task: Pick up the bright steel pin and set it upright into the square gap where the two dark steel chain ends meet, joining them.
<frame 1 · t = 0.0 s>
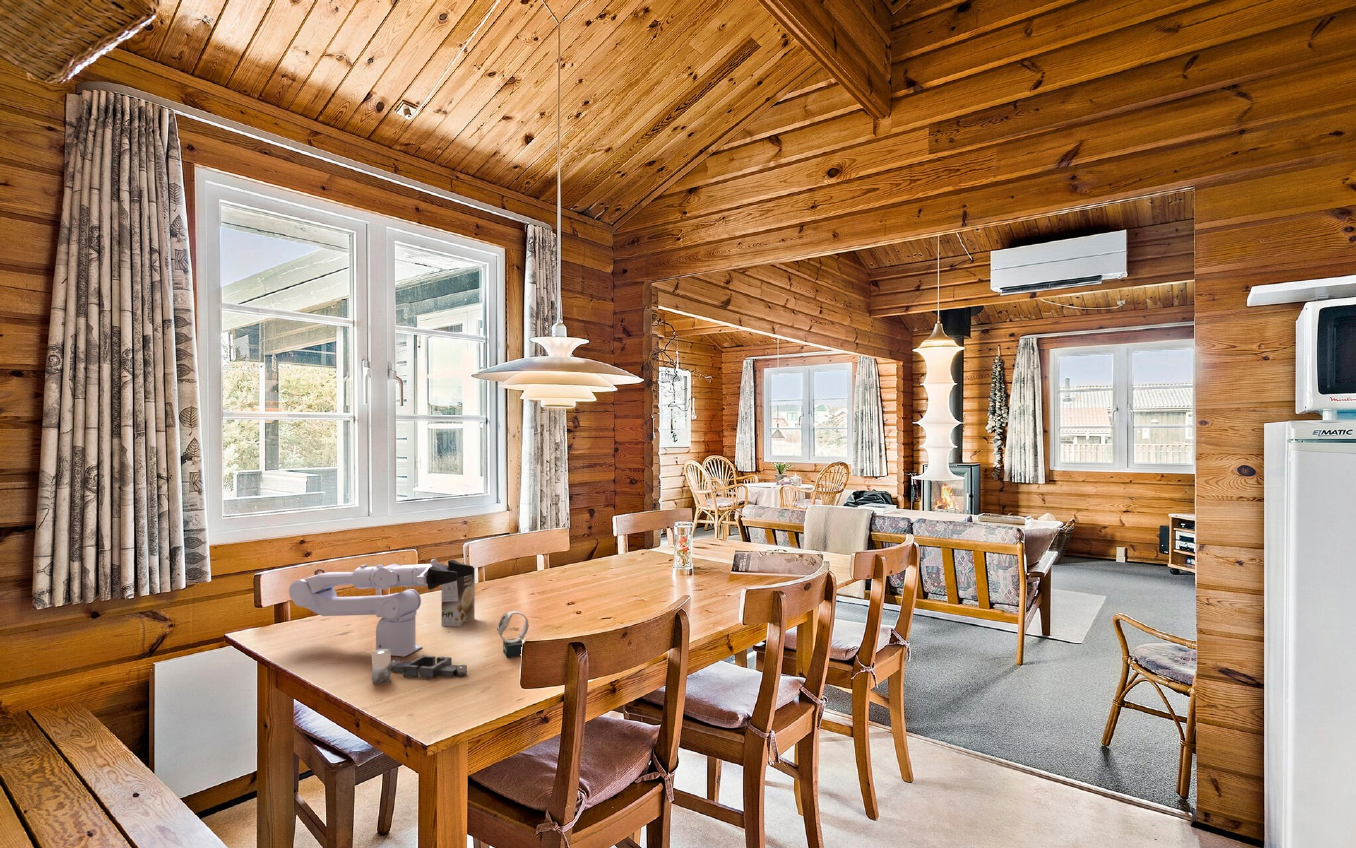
hand: (465, 573, 179), 22 cm above the table, tool horizontal, fingers open, 7 cm apart
chain end right: (427, 672, 168), on the table
watch: (513, 654, 182), on the table
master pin: (381, 681, 162), on the table
chain end left: (427, 672, 168), on the table
coffee box: (458, 623, 211), on the table
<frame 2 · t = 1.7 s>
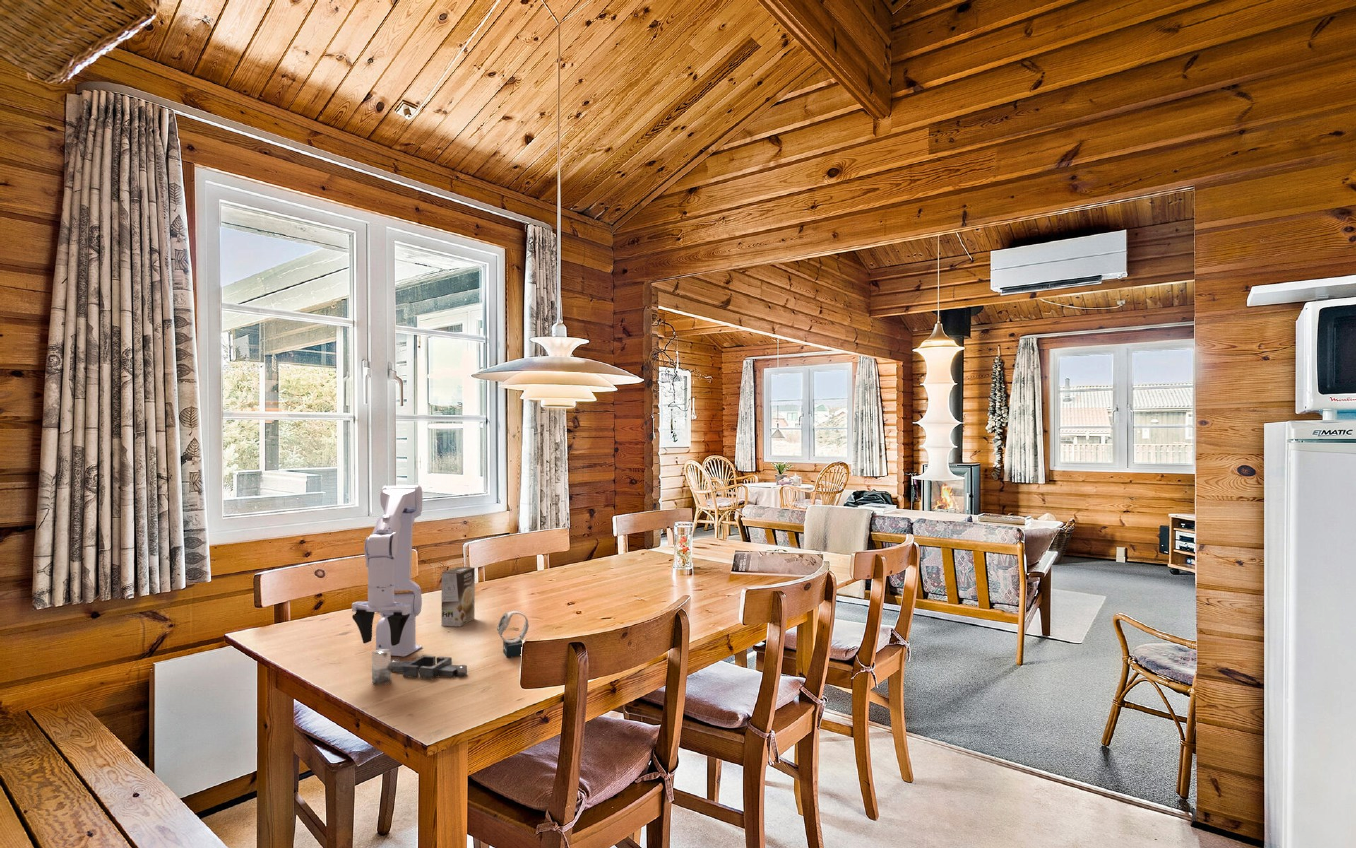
hand: (381, 643, 162), 9 cm above the table, tool pointing down, fingers open, 7 cm apart
nothing on the table moved.
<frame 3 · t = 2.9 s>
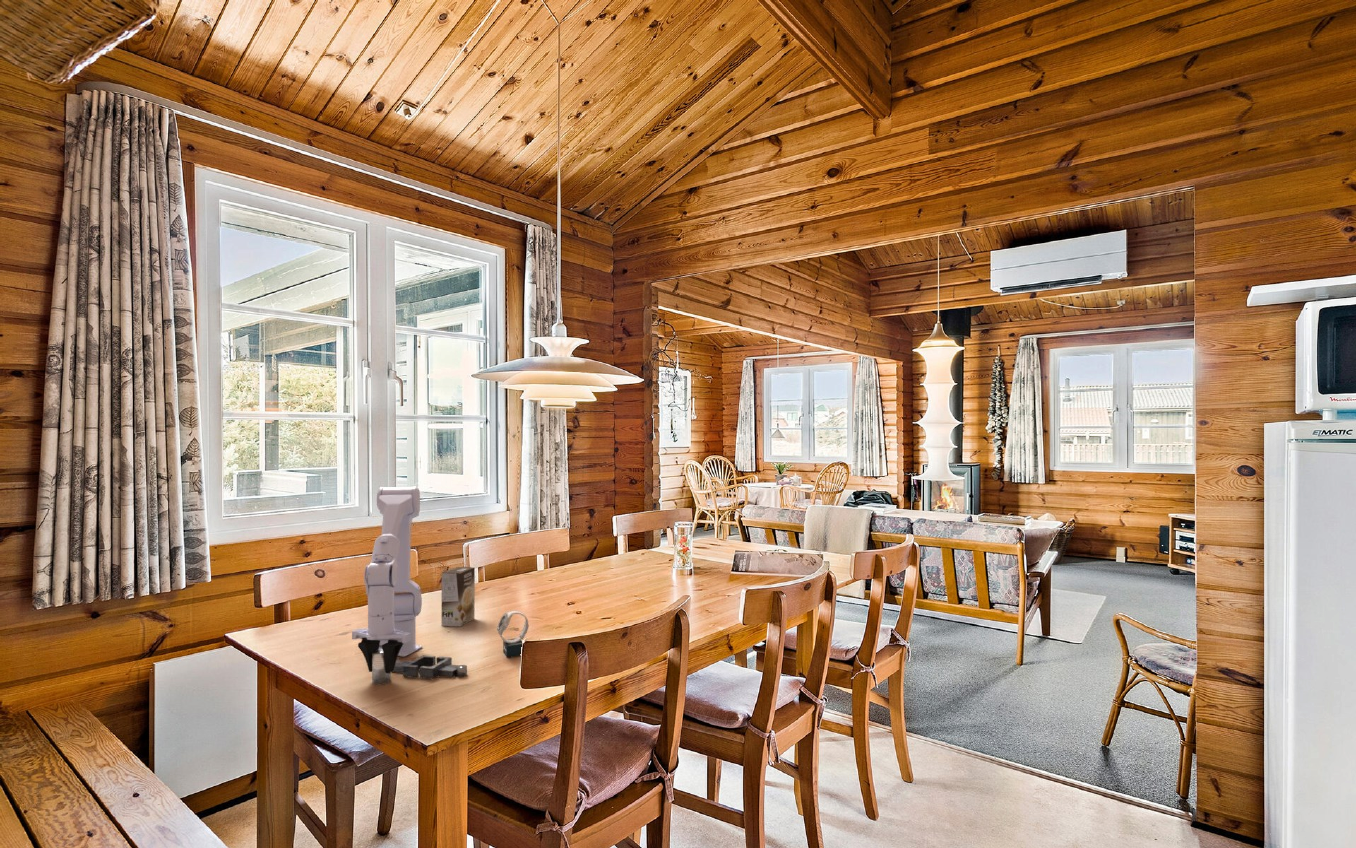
hand: (381, 671, 162), 2 cm above the table, tool pointing down, fingers closed on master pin, 4 cm apart
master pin: (381, 681, 162), on the table, touching gripper
everything else where it was.
when the fingers open (3 cm above the table, at t = 6.4 s): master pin stays where it is, on the table.
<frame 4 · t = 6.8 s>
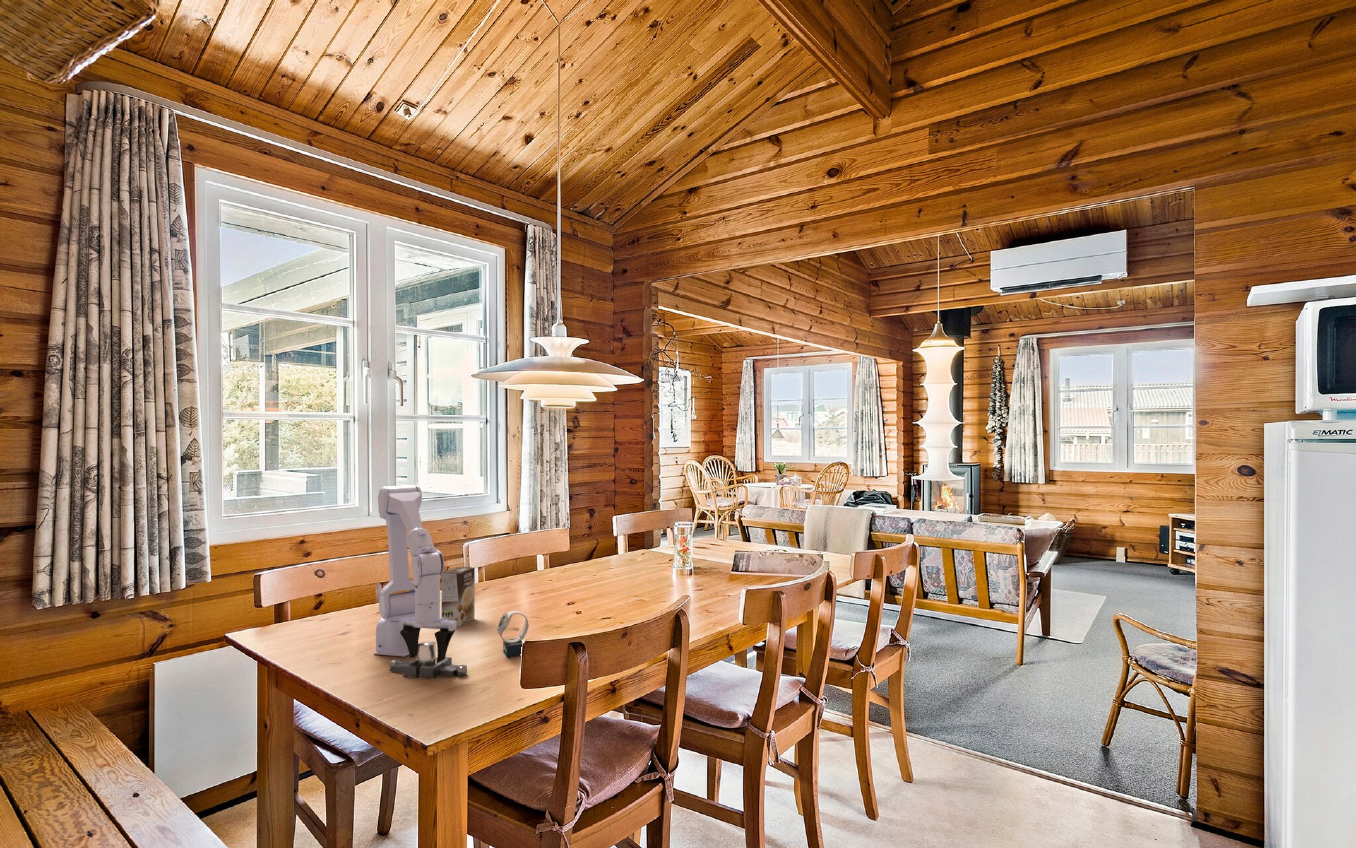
hand: (427, 658, 168), 3 cm above the table, tool pointing down, fingers open, 7 cm apart
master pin: (427, 672, 168), on the table
everything else where it was.
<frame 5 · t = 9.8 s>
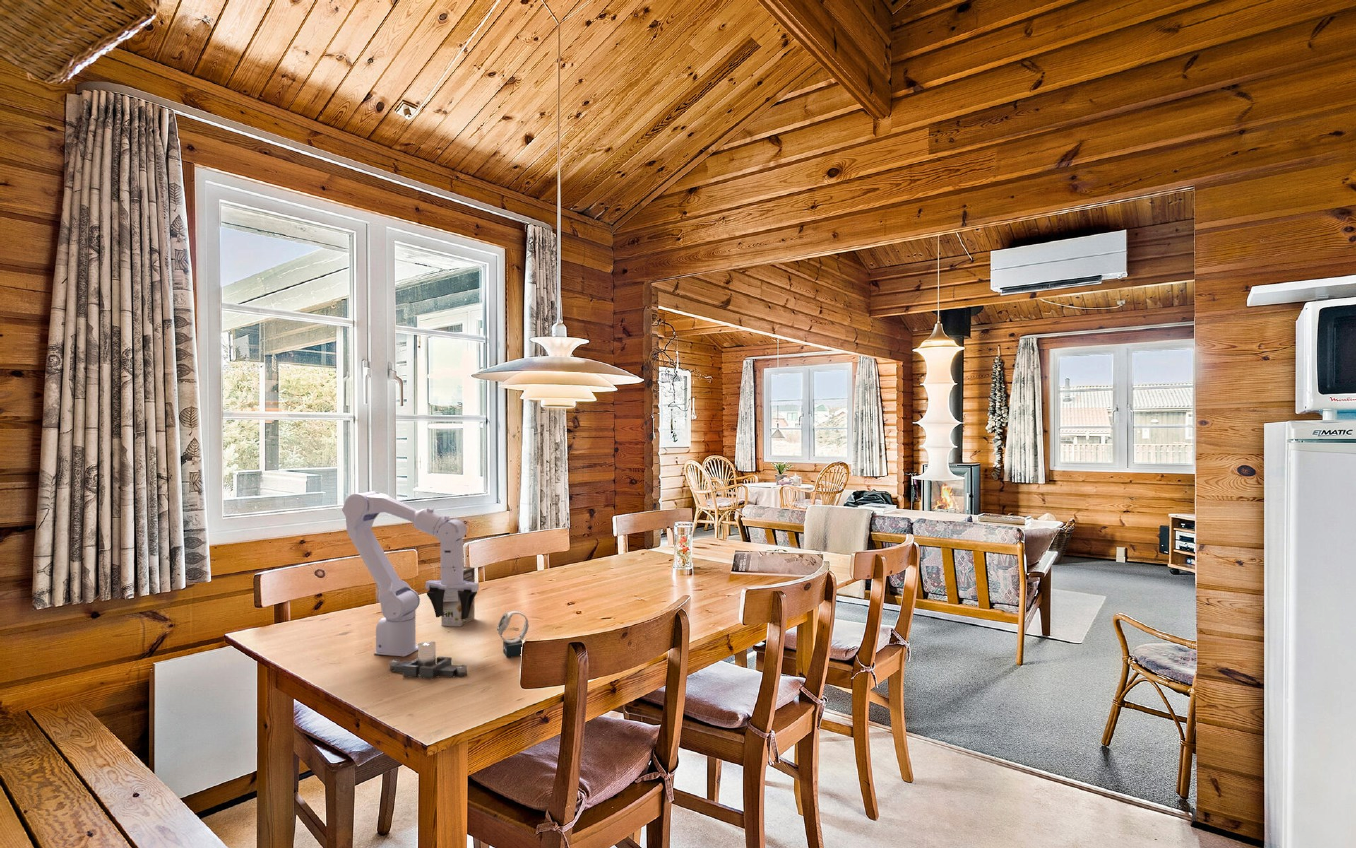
hand: (452, 617, 182), 9 cm above the table, tool pointing down, fingers open, 7 cm apart
nothing on the table moved.
at the end: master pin 0.3 cm off-centre on the chain end left, point 0.0 cm above the chain end left's base; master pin tilted 0°; the gripper is holding nothing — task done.
